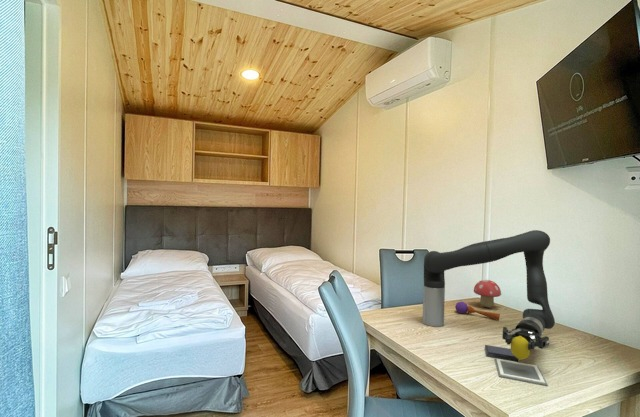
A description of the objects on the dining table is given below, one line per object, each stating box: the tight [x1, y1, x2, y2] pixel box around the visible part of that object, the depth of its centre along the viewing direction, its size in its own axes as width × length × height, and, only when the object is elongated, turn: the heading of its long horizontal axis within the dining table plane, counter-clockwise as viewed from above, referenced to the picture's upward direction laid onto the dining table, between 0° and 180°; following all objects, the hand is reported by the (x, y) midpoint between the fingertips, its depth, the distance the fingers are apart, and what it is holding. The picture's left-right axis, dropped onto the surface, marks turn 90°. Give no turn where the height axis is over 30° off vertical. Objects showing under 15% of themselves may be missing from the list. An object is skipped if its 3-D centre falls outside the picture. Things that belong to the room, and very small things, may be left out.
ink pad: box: [484, 344, 520, 363], centre depth 120 cm, size 10×8×2 cm
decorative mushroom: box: [473, 279, 502, 309], centre depth 178 cm, size 13×13×15 cm
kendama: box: [454, 301, 501, 321], centre depth 164 cm, size 6×6×20 cm
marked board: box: [494, 358, 549, 387], centre depth 107 cm, size 13×13×1 cm
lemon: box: [510, 336, 531, 361], centre depth 107 cm, size 6×6×8 cm
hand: (518, 344), depth 106 cm, fingers closed on lemon, 5 cm apart
